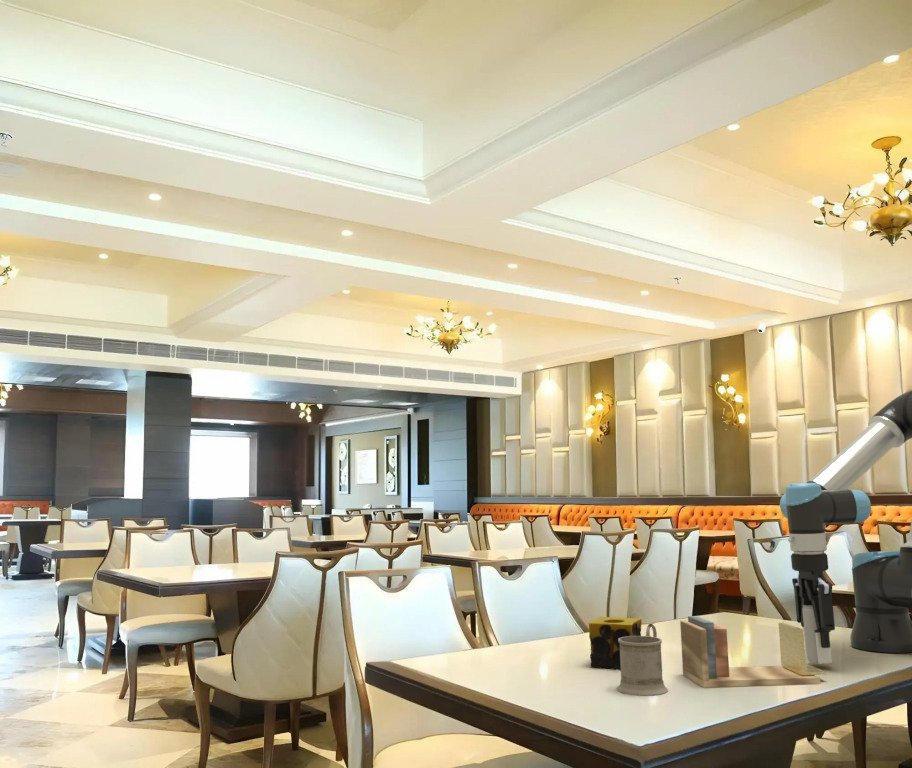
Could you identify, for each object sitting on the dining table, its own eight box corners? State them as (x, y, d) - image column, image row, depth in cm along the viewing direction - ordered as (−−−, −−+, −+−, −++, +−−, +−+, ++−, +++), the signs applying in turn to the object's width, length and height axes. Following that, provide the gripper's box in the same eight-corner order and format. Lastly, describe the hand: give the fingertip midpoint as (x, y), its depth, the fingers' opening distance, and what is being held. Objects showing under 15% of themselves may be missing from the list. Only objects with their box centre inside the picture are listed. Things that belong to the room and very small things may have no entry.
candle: (645, 662, 189) (643, 618, 190) (635, 671, 180) (633, 624, 181) (601, 659, 193) (599, 616, 194) (589, 668, 184) (588, 622, 185)
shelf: (792, 671, 177) (788, 612, 178) (820, 683, 165) (815, 621, 166) (683, 674, 175) (679, 615, 177) (703, 687, 163) (699, 624, 165)
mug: (658, 698, 156) (655, 632, 157) (609, 692, 161) (606, 629, 163) (681, 682, 168) (678, 622, 170) (635, 677, 173) (632, 619, 175)
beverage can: (820, 664, 177) (815, 607, 179) (802, 661, 181) (797, 605, 183) (835, 661, 179) (830, 605, 181) (817, 658, 184) (812, 603, 185)
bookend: (804, 665, 175) (801, 622, 177) (825, 674, 167) (822, 628, 168) (781, 666, 175) (778, 622, 176) (801, 675, 166) (798, 629, 167)
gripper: (774, 550, 192) (783, 653, 189) (812, 556, 174) (822, 669, 171) (805, 548, 192) (815, 651, 189) (846, 554, 175) (857, 667, 172)
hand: (818, 660), depth 180 cm, fingers closed on beverage can, 5 cm apart
